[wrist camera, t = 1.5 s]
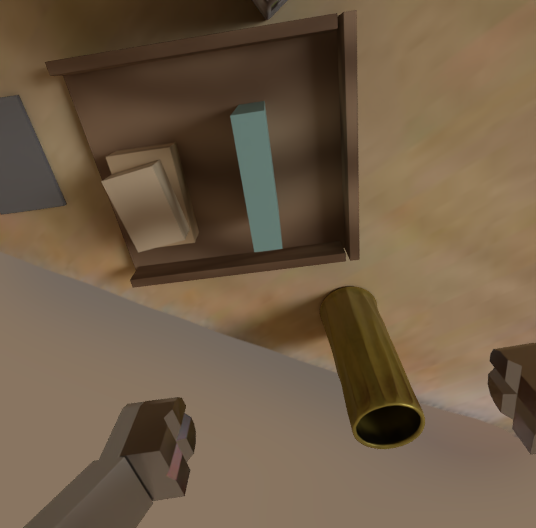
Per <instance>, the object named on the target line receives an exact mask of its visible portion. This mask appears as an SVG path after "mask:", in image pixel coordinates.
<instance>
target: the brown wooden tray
mask: <svg viewBox="0 0 536 528" xmlns="http://www.w3.org/2000/svg"><path fill="white" fill-rule="evenodd" d="M45 64H46V66H47V69H48V71H49V74H50V76H58V75H63V77H64V79H65V82H66V85H67V87H68V90H69V93H70V95H71V98H72V101H73V103H74V106H75V109H76V111H77V114H78V117H79V119H80V122H81V125H82V127H83V130H84V133H85V135H86V138H87V141H88V143H89V146H90V149H91V151H92V154H93V157H94V159H95V162H96V165H97V167H98V170H99V173H100V175H101V178H102V181H103V180H104V179H106V178H107V177H109V176H110V175H112V174H111V171H110V168H109V166H108V163H107V160H106V156H108V155H110V154H112V153H114V152H115V151H120V150H127V149H133V148H140V147H147V146H153V145H160V144H167V143H174V142H176V144H177V148H178V152H179V156H180V160H181V164H182V168H183V171H184V175H185V179H186V183H187V187H188V191H189V195H190V199H191V203H192V207H193V210H194V214H195V218H196V222H197V226H198V230H199V234H198V236H197V239H196V241H195V243H188V244H181V245H173V246H165V247H158V248H153V249H150V250H146V251H142V252H139V253H138V251H137V249H136V247H135V245H134V243H133V241H132V240H131V238H130V236H129V234H128V232H127V230H126V228H125V226H124V224H123V222H122V220H121V219H120V217H119V215H118V213H117V211H116V209H115V207H114V205H113V203H112V201H111V200H110V202H111V205H112V207H113V210H114V213H115V215H116V218H117V221H118V223H119V226H120V229H121V231H122V234H123V237H124V239H125V242H126V245H127V247H128V250H129V253H130V256H131V258H132V261H133V264H134V266H135V269H136V272H135V273H134V275H133V276H132V278H131V279H130V281H131V284H132V286H133V287H141V286H149V285H157V284H165V283H174V282H182V281H190V280H198V279H206V278H214V277H222V276H230V275H238V274H246V273H254V272H262V271H270V270H278V269H287V268H295V267H303V266H311V265H319V264H327V263H335V262H343V261H346V253H345V251H344V249H343V248H345V250H346V252H347V254H348V257H349V259H350V261H351V260H359V178H358V96H357V14H356V10H354V11H348V12H343V13H342V14H341V15H339V16H338V17H337V13H336V14H330V15H324V16H318V17H312V18H306V19H300V20H294V21H288V22H282V23H276V24H270V25H264V26H258V27H252V28H246V29H240V30H234V31H228V32H222V33H216V34H210V35H204V36H198V37H192V38H186V39H180V40H174V41H168V42H162V43H156V44H150V45H144V46H138V47H132V48H126V49H120V50H114V51H108V52H102V53H96V54H90V55H84V56H78V57H72V58H66V59H60V60H54V61H48V62H45ZM261 101H265V109H266V117H267V124H268V132H269V140H270V147H271V155H272V163H273V170H274V178H275V186H276V193H277V201H278V209H279V218H280V228H281V238H282V248H283V249H277V250H270V251H262V252H254V247H253V242H252V236H251V230H250V225H249V219H248V213H247V208H246V202H245V197H244V191H243V185H242V180H241V174H240V168H239V163H238V157H237V151H236V146H235V140H234V135H233V129H232V123H231V118H230V115H231V114H232V113H233V111H234V110H235V109H236V108H237V106H238V105H241V104H248V103H254V102H261ZM108 197H109V196H108ZM109 199H110V198H109Z"/></svg>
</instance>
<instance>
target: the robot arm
mask: <svg viewBox="0 0 536 528" xmlns="http://www.w3.org/2000/svg"><path fill="white" fill-rule="evenodd" d="M490 362H491V363H492V365H493V366H494V367H495V368H494V369H493V370H492V371H491V372H490V373H489V374H488V387H489V391H490V395H491V397H492V399H493V401H494V403H495V405H496V406H497V408H498V409H499V410H500V412H501V413H503V414H504V415H506V416H508V417H510V418H511V419H513V427H512V429H513V430H514V432H515V433H516V435H517V436H518V437H519V439H520V440H521V441H522V443H523V444H524V446H525V447H526V448H527V450H528V451H529V453H530V454H536V343H529V344H523V345H516V346H510V347H504V348H498V349H493V351H492V352H491V354H490ZM185 409H186V405H185V403H184V401H183V399H182V398H179V397H177V398H169V399H161V400H152V401H145V402H139V403H131V404H127V405H126V406H125V407H124V408H123V409H122V411H121V413H120V415H119V417H118V420H117V422H116V424H115V426H114V428H113V430H112V433H111V435H110V437H109V439H108V441H107V443H106V446H105V448H104V450H103V452H102V454H101V456H100V459H99V460H97V461H93V462H92V463H91V464H90V465H89V466H88V467H87V468H85V470H83V471H82V472H81V473H80V474H79V475H78V476H77V477H76V478H75V479H74V480H73V481H72V482H71V483H70V484H69V485H68V486H66V487H65V488H64V489H63V490H62V491H61V492H60V493H59V494H58V495H57V496H56V497H55V498H54V499H53V500H52V501H51V502H50V503H49V504H48V505H47V506H46V507H44V508H43V509H42V510H41V511H40V512H39V513H38V514H37V515H36V516H35V517H34V518H33V519H32V520H31V521H30V522H29V523H28V524H26V525H25V526H24V527H23V528H136V527H137V526H138V524H139V523H140V521H141V520H142V518H143V517H144V516H145V514H146V513H147V511H148V510H149V508H150V507H151V506H152V504H153V502H152V501H156V500H163V499H169V498H176V497H182V496H185V492H186V487H187V483H188V478H189V473H190V469H189V467H188V464H187V461H188V460H189V459H190V457H191V456H192V455H193V454H194V449H195V444H196V431H195V427H194V423H193V420H192V418H191V417H190V416H188V415H187V414H185V413H184V412H185Z"/></svg>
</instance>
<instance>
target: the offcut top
mask: <svg viewBox="0 0 536 528" xmlns="http://www.w3.org/2000/svg"><path fill="white" fill-rule="evenodd" d="M101 182H102V184H103V186H104V188H105V190H106V192H107V194H108V196H109V198H110V200H111V201H112V203H113V205H114V207H115V209H116V211H117V213H118V215H119V217H120V219H121V220H122V222H123V224H124V226H125V228H126V230H127V232H128V234H129V236H130V238H131V240H132V241H133V243H134V245H135V247H136V249H137V251H138V253H139V252H142V251H146V250H150V249H153V248H157V247H161V246H164V245H168V244H172V243H176V242H179V241H183V240H185V238H186V236H187V234H188V232H189V230H190V228H189V225H188V223H187V221H186V218H185V216H184V214H183V211H182V209H181V207H180V204H179V202H178V200H177V197H176V195H175V193H174V190H173V188H172V186H171V183H170V181H169V179H168V176H167V174H166V172H165V169H164V167H163V165H162V162H161V160H160V159H159V160H156V161H153V162H149V163H146V164H143V165H140V166H136V167H133V168H130V169H126V170H123V171H120V172H117V173H113V174H112V175H110V176H109V177H107V178H106V179H104V180H103V181H101Z"/></svg>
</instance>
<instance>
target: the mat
mask: <svg viewBox="0 0 536 528" xmlns="http://www.w3.org/2000/svg"><path fill="white" fill-rule="evenodd" d="M65 205H66V201H65V199H64V197H63V195H62V192H61V190H60V188H59V186H58V183H57V181H56V179H55V176H54V174H53V172H52V170H51V167H50V165H49V163H48V161H47V158H46V156H45V154H44V151H43V149H42V147H41V145H40V142H39V140H38V138H37V136H36V133H35V131H34V129H33V126H32V124H31V122H30V120H29V117H28V115H27V113H26V110H25V108H24V106H23V104H22V101H21V99H20V97H19V95H15V96H9V97H2V98H0V213H1V215H2V214H9V213H16V212H23V211H30V210H37V209H44V208H51V207H59V206H65Z"/></svg>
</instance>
